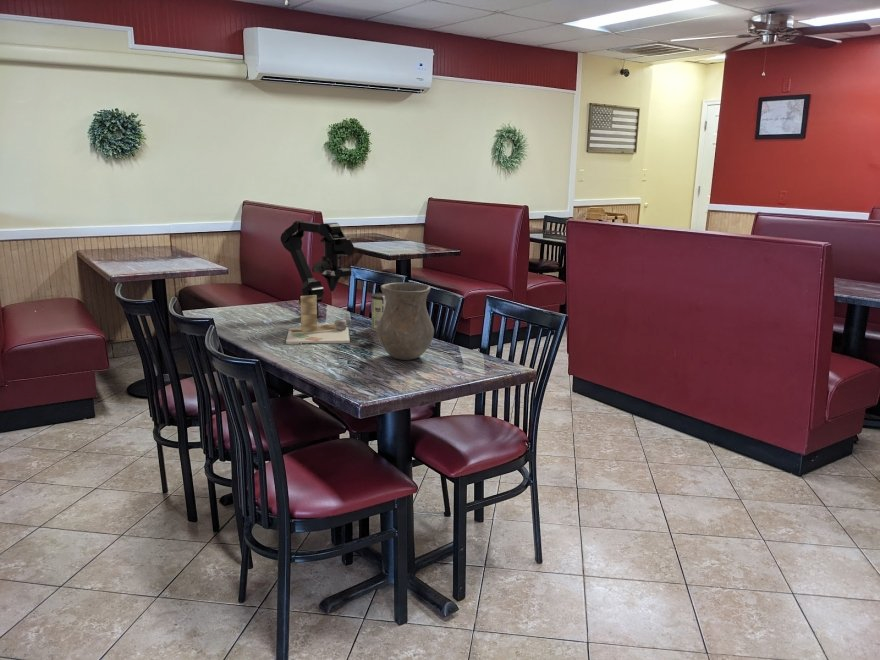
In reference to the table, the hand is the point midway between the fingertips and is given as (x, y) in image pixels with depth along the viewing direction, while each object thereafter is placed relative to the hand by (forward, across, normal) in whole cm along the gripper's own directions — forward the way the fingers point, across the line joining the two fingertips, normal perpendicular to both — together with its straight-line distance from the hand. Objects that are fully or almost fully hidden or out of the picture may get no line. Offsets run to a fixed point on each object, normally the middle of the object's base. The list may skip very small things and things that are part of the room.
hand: (332, 291), depth 289 cm
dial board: (+13, +17, -21) cm, 30 cm away
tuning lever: (+11, +14, -19) cm, 26 cm away
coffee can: (+13, +25, +6) cm, 29 cm away
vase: (+13, +61, -19) cm, 65 cm away
